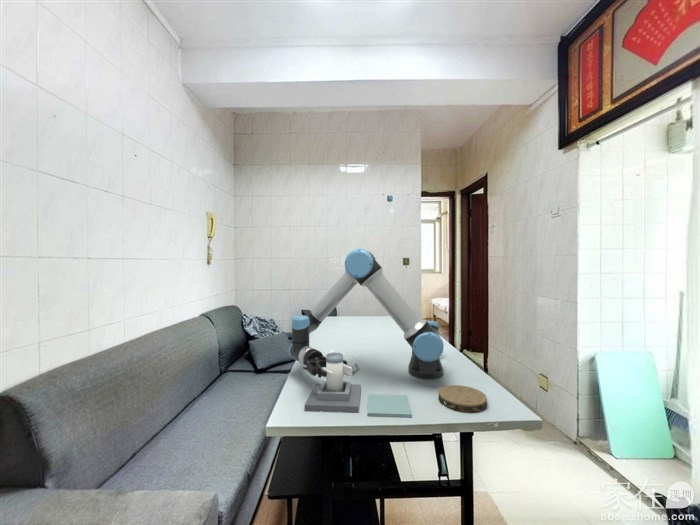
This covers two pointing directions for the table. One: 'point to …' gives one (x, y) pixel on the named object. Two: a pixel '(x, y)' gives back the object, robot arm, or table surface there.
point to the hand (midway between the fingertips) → (342, 374)
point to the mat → (388, 405)
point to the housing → (334, 398)
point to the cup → (335, 372)
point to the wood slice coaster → (463, 399)
